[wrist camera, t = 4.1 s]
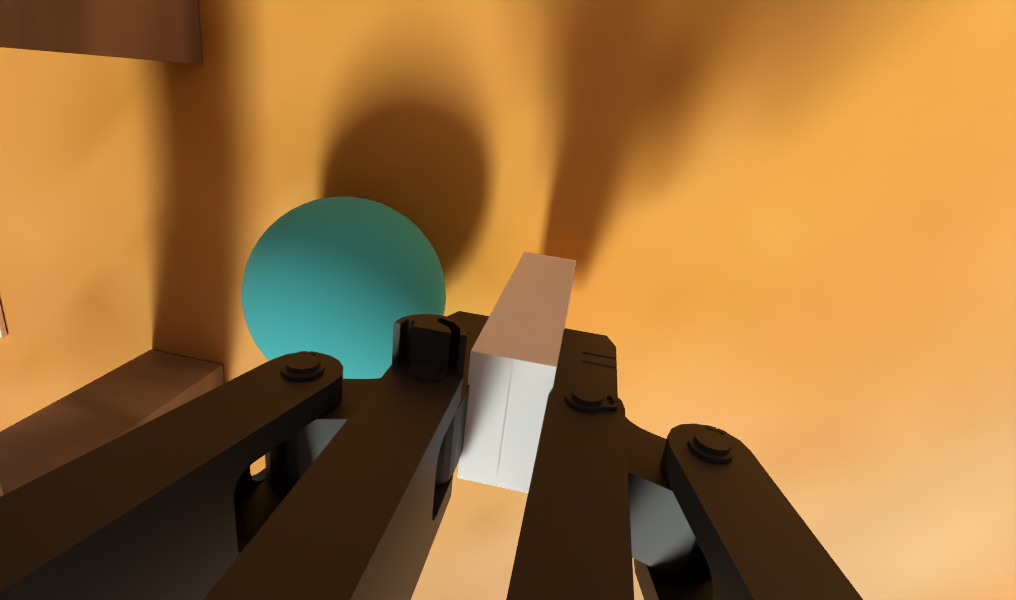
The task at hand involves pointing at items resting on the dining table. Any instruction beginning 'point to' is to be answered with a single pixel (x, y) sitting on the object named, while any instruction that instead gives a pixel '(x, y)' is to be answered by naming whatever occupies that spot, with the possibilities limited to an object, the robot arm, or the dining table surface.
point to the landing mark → (2, 325)
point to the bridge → (153, 375)
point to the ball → (340, 282)
